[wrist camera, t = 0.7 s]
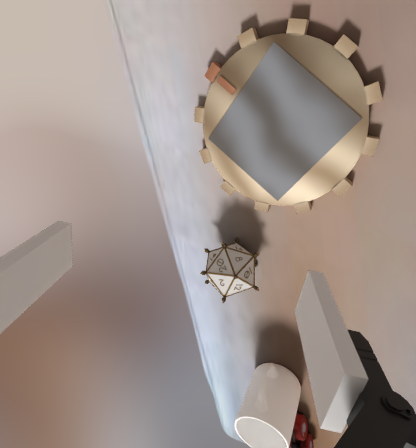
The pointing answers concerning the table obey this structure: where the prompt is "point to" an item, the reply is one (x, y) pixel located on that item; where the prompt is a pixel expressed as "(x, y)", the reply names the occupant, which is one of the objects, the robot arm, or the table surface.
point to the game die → (231, 269)
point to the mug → (269, 407)
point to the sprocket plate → (287, 117)
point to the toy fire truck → (301, 433)
